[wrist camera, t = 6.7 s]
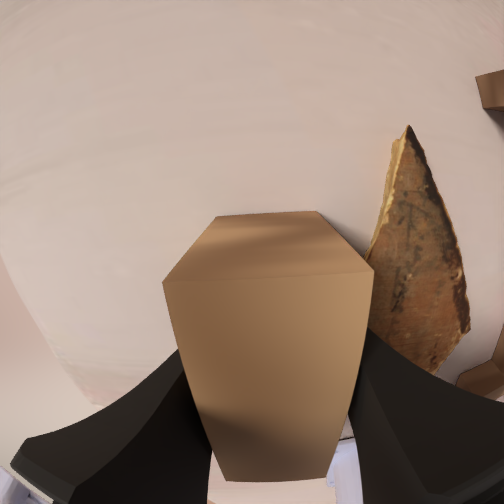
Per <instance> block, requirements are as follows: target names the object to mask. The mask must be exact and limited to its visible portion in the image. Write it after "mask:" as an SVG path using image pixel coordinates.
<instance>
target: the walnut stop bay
mask: <svg viewBox="0 0 504 504" xmlns="http://www.w3.org/2000/svg"><path fill="white" fill-rule="evenodd" d="M476 81H477V85H478V88H479V92H480V96H481V101H482V105H483V108H485V109H491V110H497V111H502V112H504V70H500V71H496V72H492V73H488V74H484V75H481V76H477V77H476ZM456 386H457V387H459V388H461V389H463V390H466V391H468V392H471V393H474V394H476V395H479V396H482V397H486V398H489V399H492V400H496V399H497V398H499V397H501V396H502V395H504V326H503V329H502V332H501V335H500V338H499V341H498V344H497V346H496V349H495V352H494V354H493V357H492V359H491V360H489V361H487V362H486V363H483V364H481V365H479V366H477V367H475V368H473V369H471V370H469V371H467V372H464V373H462V374H460V376H459V379H458V381H457V384H456Z"/></svg>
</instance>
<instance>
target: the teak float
mask: <svg viewBox="0 0 504 504" xmlns="http://www.w3.org/2000/svg"><path fill="white" fill-rule="evenodd" d="M373 279H374V270H373V269H372V268H371V267H370V266H369V265H368V264H367V263H366V262H365V261H364V259H363V258H362V257H361V256H360V255H359V254H358V253H357V252H356V251H355V250H354V249H353V248H352V247H351V246H350V245H349V244H348V243H347V242H346V241H345V239H344V238H343V237H342V236H341V235H340V234H339V233H338V232H337V231H336V230H335V229H334V228H333V227H332V226H331V225H330V224H329V223H328V222H327V221H326V220H325V219H324V218H323V217H322V216H321V215H320V214H319V213H317V212H316V211H302V212H281V213H263V214H246V215H232V216H218V217H216V218H215V219H214V220H213V221H212V223H211V224H210V225H209V226H208V227H207V228H206V230H205V231H204V232H203V233H202V234H201V235H200V237H199V238H198V239H197V240H196V241H195V243H194V244H193V245H192V246H191V247H190V249H189V250H188V251H187V252H186V253H185V255H184V256H183V257H182V258H181V259H180V261H179V262H178V263H177V264H176V266H175V267H174V268H173V269H172V270H171V272H170V273H169V274H168V275H167V277H166V278H165V279H164V280H163V282H162V284H163V289H164V293H165V298H166V302H167V306H168V311H169V315H170V319H171V323H172V327H173V331H174V335H175V338H176V342H177V346H178V349H179V353H180V356H181V360H182V363H183V367H184V370H185V373H186V377H187V380H188V383H189V386H190V389H191V392H192V395H193V398H194V401H195V404H196V407H197V410H198V413H199V416H200V418H201V421H202V424H203V427H204V429H205V432H206V435H207V437H208V440H209V442H210V445H211V447H212V450H213V452H214V455H215V457H216V460H217V462H218V464H219V467H220V469H221V471H222V473H223V476H224V478H225V480H226V481H234V482H282V481H298V480H309V479H317V478H325V477H326V475H327V472H328V470H329V467H330V464H331V462H332V459H333V456H334V454H335V451H336V448H337V445H338V442H339V439H340V436H341V433H342V430H343V426H344V423H345V420H346V417H347V413H348V410H349V406H350V402H351V399H352V395H353V391H354V387H355V383H356V379H357V374H358V370H359V365H360V361H361V356H362V351H363V346H364V341H365V335H366V329H367V323H368V317H369V310H370V303H371V296H372V288H373Z"/></svg>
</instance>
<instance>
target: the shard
mask: <svg viewBox="0 0 504 504" xmlns="http://www.w3.org/2000/svg"><path fill="white" fill-rule="evenodd" d="M363 259H364V261H365V262H366V263H367V264H368V265H369V266H370V267H371V268H372V269H373V270H374V279H373V288H372V296H371V303H370V310H369V317H368V323H367V327H369V328H370V329H371V330H372V331H373V332H374V333H375V334H376V335H378V336H379V337H380V338H381V339H382V340H384V341H385V342H386V343H387V344H388V345H390V346H391V347H392V348H393V349H395V350H396V351H397V352H399V353H400V354H401V355H403V356H404V357H405V358H407V359H408V360H410V361H411V362H413V363H414V364H416V365H417V366H419V367H420V368H422V369H424V370H425V371H427V372H429V373H431V374H432V375H435V373H436V372H437V371H438V369H439V368H440V366H441V364H442V363H443V362H444V361H445V360H446V358H447V357H448V356H449V354H450V353H451V352H452V351H453V349H454V348H455V346H456V345H457V344H458V343H459V341H460V340H461V338H462V337H463V336H464V335H465V334H467V333H468V332H469V331H470V330H471V328H470V316H469V313H470V307H469V301H468V298H467V296H466V287H467V286H466V281H465V275H464V272H463V264H462V257H461V252H460V249H459V246H458V244H457V237H456V235H455V232H454V228H453V225H452V222H451V219H450V217H449V214H448V212H447V209H446V206H445V204H444V202H443V199H442V197H441V195H440V194H439V192H438V189H437V187H436V184H435V182H434V180H433V178H432V173H431V171H430V168H429V166H428V165H427V160H426V156H425V153H424V150H423V148H422V147H421V145H420V143H419V141H418V140H417V138H416V135H415V133H414V131H413V129H412V127H411V126H410V125H407V127H406V130H405V132H404V133H403V135H402V136H401V138H400V140H399V139H396V140H395V141H394V142H393V145H392V152H391V162H390V165H389V168H388V172H387V176H386V184H385V190H384V197H383V204H382V207H381V210H380V215H379V218H378V223H377V226H376V229H375V232H374V235H373V238H372V241H371V246H370V247H369V248H368V250H367V251H366V253H365V255H364V258H363Z"/></svg>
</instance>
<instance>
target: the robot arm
mask: <svg viewBox="0 0 504 504" xmlns="http://www.w3.org/2000/svg"><path fill="white" fill-rule="evenodd" d="M348 416H349V419H350V423H351V426H352V430H353V433H354V437H355V438H352V439H347V440H342V441H339V442H338V445H337V448H336V451H335V454H334V456H333V459H332V462H331V464H330V467H329V470H328V472H327V486H328V487H334V486H335V492H336V504H504V403H503V402H499V401H495V400H492V399H489V398H486V397H482V396H479V395H476V394H474V393H471V392H468V391H466V390H463V389H461V388H459V387H457V386H454V385H452V384H450V383H448V382H446V381H444V380H442V379H440V378H438V377H436V376H434V375H432V374H431V373H429V372H427V371H425V370H424V369H422V368H420V367H419V366H417V365H416V364H414V363H413V362H411V361H410V360H408V359H407V358H405V357H404V356H403V355H401V354H400V353H399V352H397V351H396V350H395V349H393V348H392V347H391V346H390V345H388V344H387V343H386V342H385V341H384V340H382V339H381V338H380V337H379V336H378V335H376V334H375V333H374V332H373V331H372V330H371V329H370V328H369V327H367V329H366V335H365V341H364V346H363V351H362V356H361V361H360V365H359V370H358V374H357V379H356V383H355V387H354V391H353V395H352V399H351V402H350V406H349V410H348ZM211 455H212V447H211V445H210V442H209V440H208V437H207V435H206V432H205V429H204V427H203V424H202V421H201V418H200V416H199V413H198V410H197V407H196V404H195V401H194V398H193V395H192V392H191V389H190V386H189V383H188V380H187V377H186V373H185V370H184V367H183V363H182V360H181V356H180V353H179V349H177V350H176V351H175V352H174V353H173V354H172V355H171V356H170V357H169V358H168V359H167V360H166V361H165V362H164V363H163V364H161V365H160V366H159V367H158V368H157V369H156V370H155V371H154V372H153V373H151V374H150V375H149V376H148V377H147V378H146V379H144V380H143V381H142V382H141V383H140V384H139V385H137V386H136V387H135V388H134V389H132V390H131V391H130V392H128V393H127V394H125V395H124V396H123V397H121V398H120V399H118V400H117V401H115V402H114V403H112V404H111V405H109V406H107V407H106V408H104V409H102V410H100V411H98V412H97V413H95V414H93V415H91V416H89V417H88V418H86V419H84V420H81V421H79V422H77V423H75V424H72V425H70V426H68V427H65V428H62V429H59V430H57V431H54V432H50V433H47V434H43V435H39V436H36V437H31V438H27V439H26V440H25V441H24V443H23V444H22V445H21V447H20V449H19V450H18V452H17V453H16V455H15V456H14V458H13V460H12V461H11V463H10V465H11V467H12V468H13V469H14V470H15V471H16V472H17V473H18V474H19V475H21V476H22V477H23V478H24V479H26V480H27V481H28V482H29V483H31V484H32V485H33V486H35V487H36V488H37V489H39V490H40V491H42V492H43V493H45V494H46V495H47V496H49V497H50V498H52V499H53V500H54V501H53V503H52V504H207V493H208V480H209V471H210V462H211ZM0 504H51V503H49V502H47V501H46V500H45V499H43V498H42V497H40V496H39V495H37V494H36V493H35V492H33V491H32V490H30V489H28V488H27V487H26V486H25V485H23V484H22V483H21V482H20V481H19V480H17V479H16V478H15V477H14V476H12V475H11V474H10V473H9V472H8V471H7V470H5V469H4V468H3V467H2V466H0Z"/></svg>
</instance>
